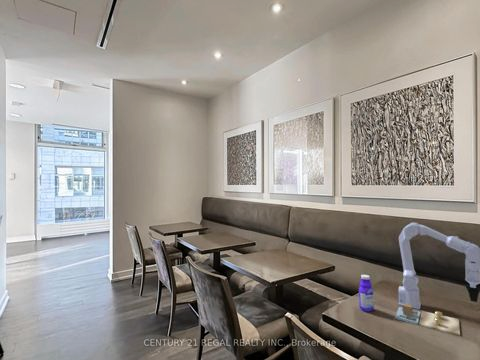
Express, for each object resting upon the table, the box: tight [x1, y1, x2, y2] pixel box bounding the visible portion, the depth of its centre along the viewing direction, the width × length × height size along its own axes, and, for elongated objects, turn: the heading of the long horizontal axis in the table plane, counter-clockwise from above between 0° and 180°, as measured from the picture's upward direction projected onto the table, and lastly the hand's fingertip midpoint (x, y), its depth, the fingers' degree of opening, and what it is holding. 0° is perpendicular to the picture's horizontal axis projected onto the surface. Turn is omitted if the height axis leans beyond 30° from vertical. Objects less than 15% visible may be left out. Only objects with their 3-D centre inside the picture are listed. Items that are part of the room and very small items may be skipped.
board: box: [418, 310, 461, 336], centre depth 123 cm, size 14×16×1 cm
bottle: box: [358, 274, 375, 312], centre depth 138 cm, size 7×6×17 cm
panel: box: [394, 303, 421, 326], centre depth 130 cm, size 9×13×5 cm
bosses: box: [434, 310, 443, 326], centre depth 124 cm, size 3×11×3 cm, turn 142°
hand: (474, 298), depth 126 cm, fingers open, 7 cm apart
